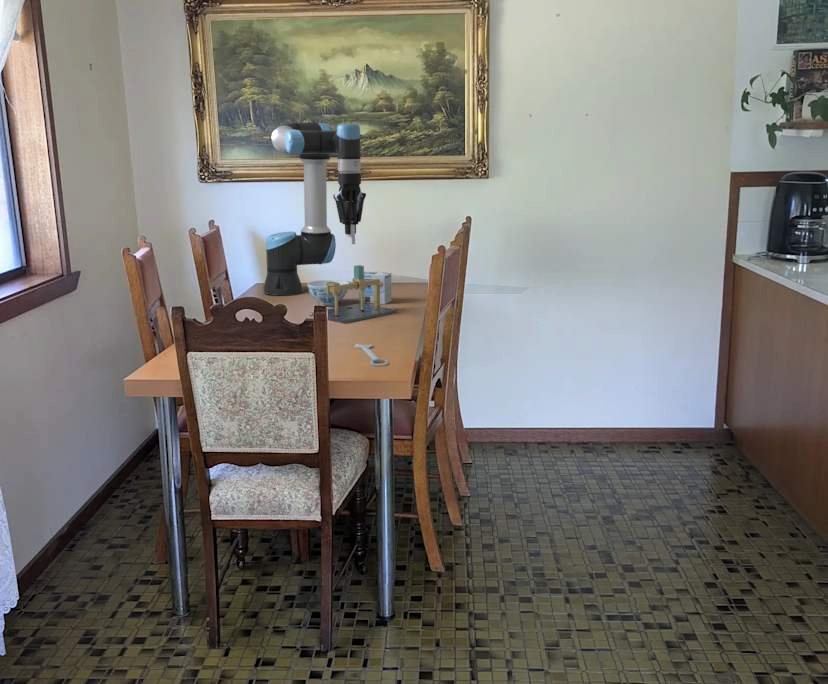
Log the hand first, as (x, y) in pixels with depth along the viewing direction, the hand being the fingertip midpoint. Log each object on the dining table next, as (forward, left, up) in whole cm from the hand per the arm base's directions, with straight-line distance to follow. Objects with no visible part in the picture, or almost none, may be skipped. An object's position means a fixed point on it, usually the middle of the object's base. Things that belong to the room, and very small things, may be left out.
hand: (350, 243), depth 287 cm
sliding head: (-2, +5, -23) cm, 24 cm away
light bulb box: (-13, +23, -25) cm, 36 cm away
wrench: (+44, -32, -25) cm, 60 cm away
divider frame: (-2, +3, -24) cm, 24 cm away
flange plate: (-2, +2, -25) cm, 25 cm away
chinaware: (-22, +8, -25) cm, 34 cm away
